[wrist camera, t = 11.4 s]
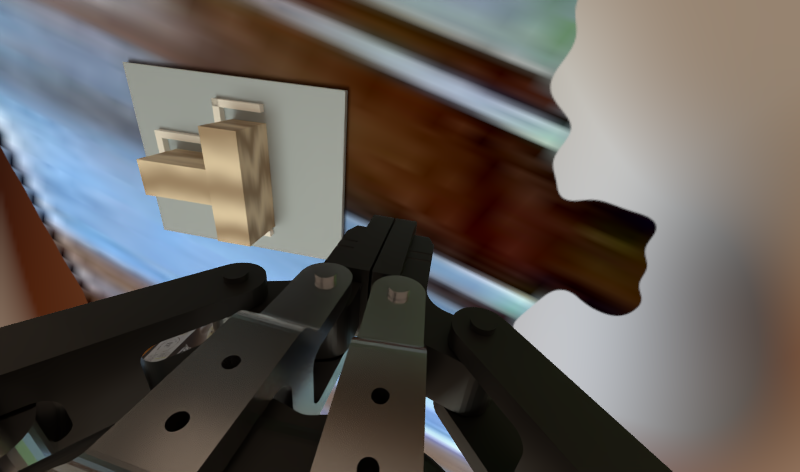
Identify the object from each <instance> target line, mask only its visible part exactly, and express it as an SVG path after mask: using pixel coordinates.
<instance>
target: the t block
mask: <svg viewBox="0 0 800 472" xmlns="http://www.w3.org/2000/svg"><path fill="white" fill-rule="evenodd" d="M198 131H199V136H200V142H201V148H202V152H197V151H190V150H183V149H174V150H170V151H166V152H162V153H158V154H155V155H151V156H147V157H143V158H139V159H137V163H138V166H139V170H140V174H141V177H142V181H143V185H144V188H145V192H146V195H152V196H158V197H164V198H170V199H176V200H182V201H188V202H194V203H200V204H206V205H212V209H213V215H214V221H215V226H216V232H217V237H218V241H223V242H228V243H234V244H239V245H245V246H251V245H253V244H254V243H255V242H256V241H258V240H259V239H260V238H261V237H262V236H264V235H265V234H266V233H267V232H269V231H270V230H271V229H272V228H274V227H275V220H274V209H273V197H272V185H271V174H270V162H269V151H268V139H267V127H266V123H260V122H252V121H245V120H237V119H230V120H225V121H220V122H215V123H210V124H205V125H200V126H198Z"/></svg>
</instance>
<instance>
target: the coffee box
mask: <svg viewBox="0 0 800 472" xmlns="http://www.w3.org/2000/svg"><path fill="white" fill-rule="evenodd" d="M213 333H214V328H213V323H211V324H208V325H206V326H203V327H200V328H197V329H195V330H192V331H189V332H187V333H184V334H181V335H179V336H176V337H173V338H171V339H168V340H165V341H162V342H160V343H157V344H156V345H155V346H154V347H152V348H151V349H150V350H149V351H148V352H147V353H146V354H145V355H144V356H142V358H143V359H144V360H146V361H149V362H157V361H160V360H163V359H166V358H168V357H171V356H173V355H176V354H178V353H181V352H183V351H186V350H188V349H191V348H193V347H196V346H198V345H201V344H202V343H203V342H204V341H205V340H206V339H208V338H209V337H210V336H211V335H212V334H213Z"/></svg>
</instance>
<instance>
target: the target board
mask: <svg viewBox="0 0 800 472" xmlns="http://www.w3.org/2000/svg"><path fill="white" fill-rule="evenodd" d="M123 65H124V69H125V73H126V77H127V81H128V85H129V89H130V93H131V97H132V101H133V105H134V109H135V113H136V117H137V121H138V125H139V129H140V133H141V137H142V141H143V145H144V149H145V153H146V157H147V156H151V155H155V154H158V153H162V152H166V151H170V150H174V149H183V150H190V151H197V152H202V148H201V142H200V136H199V131H198V126H200V125H205V124H210V123H215V122H220V121H225V120H230V119H237V120H245V121H252V122H260V123H266V127H267V139H268V151H269V162H270V174H271V185H272V197H273V209H274V220H275V227H274V228H272V229H271V230H270V231H269V232H267V233H266V234H265V235H264V236H262V237H261V238H260V239H259V240H258V241H256V242H255V243H254V244H253V245H251V246H256V247H261V248H267V249H272V250H277V251H283V252H288V253H294V254H299V255H304V256H310V257H315V258H320V259H327V258H328V257H329V255H330V254H331V252H332V251H333V250H334V248H335V247H336V246H337V245H338V243H339V241H340V240H342V237H343V231H344V197H345V163H346V129H347V96H348V90H340V89H332V88H325V87H317V86H309V85H301V84H294V83H286V82H278V81H270V80H263V79H255V78H247V77H239V76H232V75H224V74H216V73H208V72H201V71H193V70H185V69H177V68H170V67H162V66H154V65H146V64H139V63H131V62H123ZM156 198H157V202H158V206H159V210H160V214H161V218H162V222H163V226H164V230H169V231H175V232H180V233H186V234H191V235H196V236H202V237H207V238H213V239H218V237H217V232H216V226H215V221H214V215H213V209H212V205H206V204H200V203H194V202H188V201H182V200H176V199H170V198H164V197H158V196H156Z"/></svg>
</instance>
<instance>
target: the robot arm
mask: <svg viewBox="0 0 800 472" xmlns="http://www.w3.org/2000/svg"><path fill="white" fill-rule="evenodd" d="M416 226H417V222H415V221H409V220H403V219H397V218H396V220H395V218H391V217H385V216H379V215H374V216H373V218H372V219H371V221H370V223H369V224H368V226H367V227H363V226H356V227H354V228H352V229H350V230H348V231H347V232H346V233H345V235H344V236H343V237H342V240H340V241H339V243H338V245H337V246H336V247H335V248H334V250H333V251H332V252H331V254H330V255H329V257H328V258H327V259H326V261H325V262H324V263H318V264H314V265H311V266H308V267H306V268H305V269H303V270H302V271H301V272H300V273H299V274H298V275H297V276H296V277H295V278H294V279H293V280H292V281H267V277H266V272H265V270H264V269H263V268H262V267H260V266H258V265H256V264H252V263H234V264H229V265H225V266H221V267H218V268H214V269H210V270H207V271H203V272H200V273H196V274H192V275H189V276H185V277H182V278H178V279H174V280H171V281H167V282H163V283H160V284H156V285H153V286H149V287H145V288H142V289H138V290H134V291H131V292H127V293H124V294H120V295H116V296H113V297H109V298H106V299H102V300H98V301H95V302H91V303H87V304H84V305H80V306H77V307H73V308H70V309H66V310H62V311H58V312H55V313H52V314H48V315H44V316H40V317H37V318H33V319H30V320H26V321H23V322H19V323H15V324H11V325H8V326H4V327H1V328H0V472H445V471H444V470H443V469H442V467H440V466H439V465H438V464H437V463H436V462H435V461H434V460H433V459H432V458H431V457H429V456H428V455H426V454H425V453H424V433H425V399H426V397H428V398H429V399H431V400H433V404H434V409H435V412H436V414H437V415H438V417H439V419H440V420H441V422H442V423H443V425H444V426H445V428H446V429H447V431H448V432H449V434H450V436H451V437H452V439H453V440H454V442H455V443H456V445H457V446H458V448H459V450H460V451H461V453H462V454H463V456H464V457H465V459H466V460H467V462H468V463H469V465H470V467H471V468H472V470H473V471H474V472H672V471H671V470H670V469H669V468H668V467H667V466H666V465H665V464H663V463H662V462H661V461H660V460H659V459H658V458H657V457H656V456H655V455H654V454H652V453H651V452H650V451H649V450H648V449H647V448H646V447H645V446H644V445H643V444H641V443H640V442H639V441H638V440H637V439H636V438H635V437H634V436H633V435H631V434H630V433H629V432H628V431H627V430H626V429H625V428H624V427H623V426H622V425H620V424H619V423H618V422H617V421H616V420H615V419H614V418H613V417H612V416H610V415H609V414H608V413H607V412H606V411H605V410H604V409H603V408H602V407H600V406H599V405H598V404H597V403H596V402H595V401H594V400H593V399H592V398H591V397H589V396H588V395H587V394H586V393H585V392H584V391H583V390H581V389H580V388H579V387H578V386H577V385H576V384H575V383H574V382H573V381H572V380H570V379H569V378H568V377H567V376H566V375H565V374H564V373H563V372H562V371H561V370H559V369H558V368H557V367H556V366H555V365H554V364H553V363H552V362H550V360H548V359H547V358H546V357H545V356H544V355H543V354H542V353H541V352H539V351H538V350H537V349H536V348H535V347H534V346H533V345H532V344H531V343H530V342H528V341H527V340H526V339H525V338H524V337H523V336H522V335H521V334H520V333H518V332H517V331H516V330H515V329H514V328H513V327H512V326H511V325H510V324H509V323H507V322H506V321H505V320H504V319H503V318H502V317H500V316H499V315H497V314H496V313H494V312H492V311H489V310H486V309H483V308H477V307H468V308H463V309H460V310H459V311H457V312H456V313H455V314H454V315H452V314H450V313H448V312H446V311H444V310H442V309H440V308H438V307H437V306H436V305H435V304H433V303H432V301H431V300H430V299H429V297H428V295H427V284H428V278H429V272H430V266H431V260H432V254H433V248H434V245H433V244H432V242H431V240H430V239H429V238H428V237H422V236H416V235H415V233H416ZM211 323H213V328H214V333H213V334H212V335H211V336H210V337H209V338H208V339H206V340H205V341H204V342H203V343H202V344H201V345H198V346H196V347H193V348H191V349H188V350H186V351H183V352H181V353H178V354H176V355H173V356H171V357H168V358H166V359H163V360H160V361H157V362H149V361H146V360H144V359H143V358H142V355H143V353H144V352H145V351H146V350H147V349H148V348H150V347H151V346H153V345H155V344H157V343H160V342H162V341H165V340H168V339H171V338H173V337H176V336H179V335H181V334H184V333H187V332H189V331H192V330H195V329H197V328H200V327H203V326H206V325H208V324H211ZM354 336H357V337H354ZM340 373H341V374H340ZM339 375H340V377H339ZM338 377H339V381H338V384H337V387H336V390H335V393H334V397H333V400H332V403H331V406H330V410H329V413H328V415H320V412H321V410H322V408H323V406H324V404H325V403H326V401H327V399H328V397H329V395H330V393H331V391H332V389H333V387H334V385H335V383H336V381H337V379H338Z"/></svg>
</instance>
